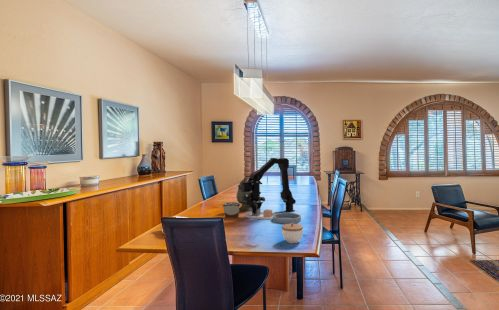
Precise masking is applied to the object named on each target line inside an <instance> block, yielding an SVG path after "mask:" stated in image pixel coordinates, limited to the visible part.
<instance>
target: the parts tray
mask: <svg viewBox="0 0 499 310" xmlns="http://www.w3.org/2000/svg"><path fill="white" fill-rule="evenodd" d="M274 214H277V213H274V212H272V217H270V218H268V217H264V215H263V212H262V211H260V216H252V212H249V213H248V214H245V215H244V217H245V218H252V219H259V220H260V219H261V220H270V221H272V220H273V215H274Z"/></svg>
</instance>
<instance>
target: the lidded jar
mask: <svg viewBox="0 0 499 310" xmlns="http://www.w3.org/2000/svg"><path fill="white" fill-rule="evenodd" d="M303 230H304V226H303V225H302V224H299V223H295V224H293V223H291V224H290V223H284V224H283V225H282V226H281V232H282V233H281V235H282V236H283V239H284V240H285V241H286V242H287V243H289V244H298V243H299V241H300V240H301V239H302V237H303V235H304V234H303V232H304V231H303Z"/></svg>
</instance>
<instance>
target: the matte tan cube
mask: <svg viewBox="0 0 499 310" xmlns="http://www.w3.org/2000/svg"><path fill="white" fill-rule="evenodd" d="M272 213H273V209H263V215H264V217H268V218H270V217H272Z"/></svg>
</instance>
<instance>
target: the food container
mask: <svg viewBox="0 0 499 310" xmlns="http://www.w3.org/2000/svg"><path fill="white" fill-rule="evenodd" d="M222 207H223V212H224V213H223V214H224V219H225V218H226V219H227V218H228V219H229V218H233V219H234V218H235V219H236V218H239V216H240V211H239V208H240V207H241V204H240V203H239V202H238V201H237V202H235V201H228V202H225V203H224V202H223V204H222Z"/></svg>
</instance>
